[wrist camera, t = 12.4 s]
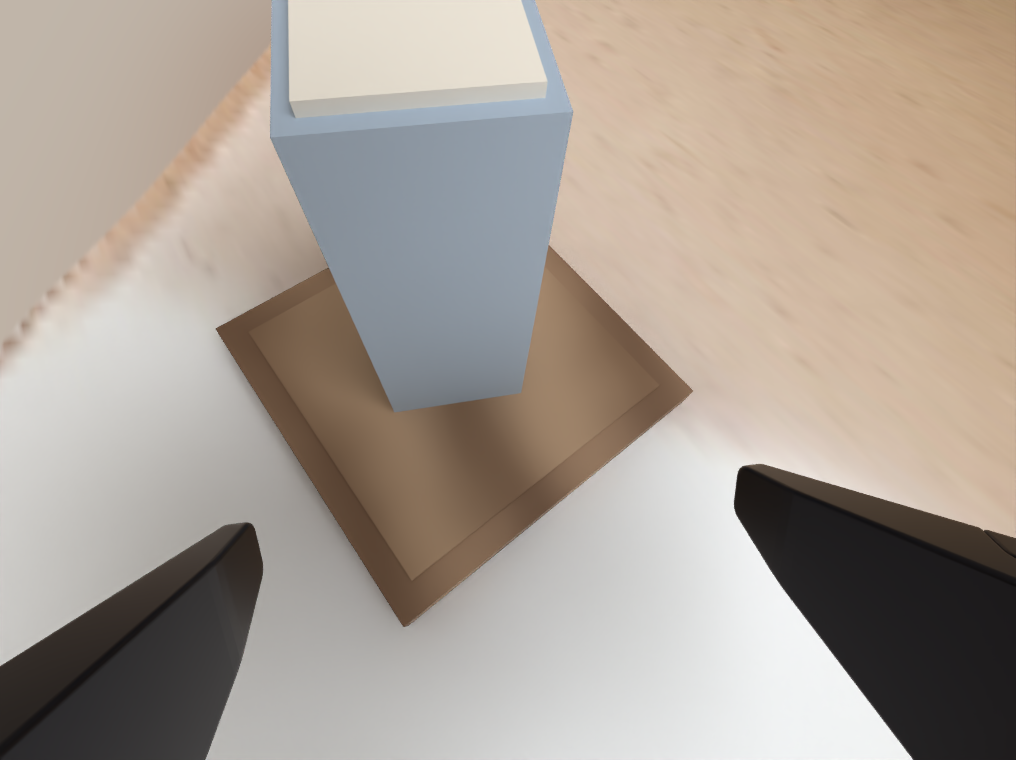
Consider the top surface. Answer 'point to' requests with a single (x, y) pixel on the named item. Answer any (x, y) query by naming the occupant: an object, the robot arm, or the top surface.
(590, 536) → the top surface
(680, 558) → the top surface
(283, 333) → the walnut board
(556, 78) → the slate block
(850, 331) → the top surface
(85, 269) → the top surface
